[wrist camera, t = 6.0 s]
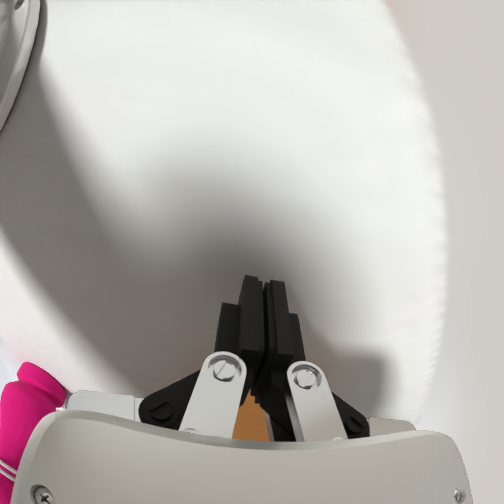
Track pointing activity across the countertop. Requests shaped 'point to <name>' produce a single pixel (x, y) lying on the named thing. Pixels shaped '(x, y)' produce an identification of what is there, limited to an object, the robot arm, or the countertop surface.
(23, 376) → the pepper mill
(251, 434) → the ball
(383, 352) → the countertop surface
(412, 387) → the countertop surface
